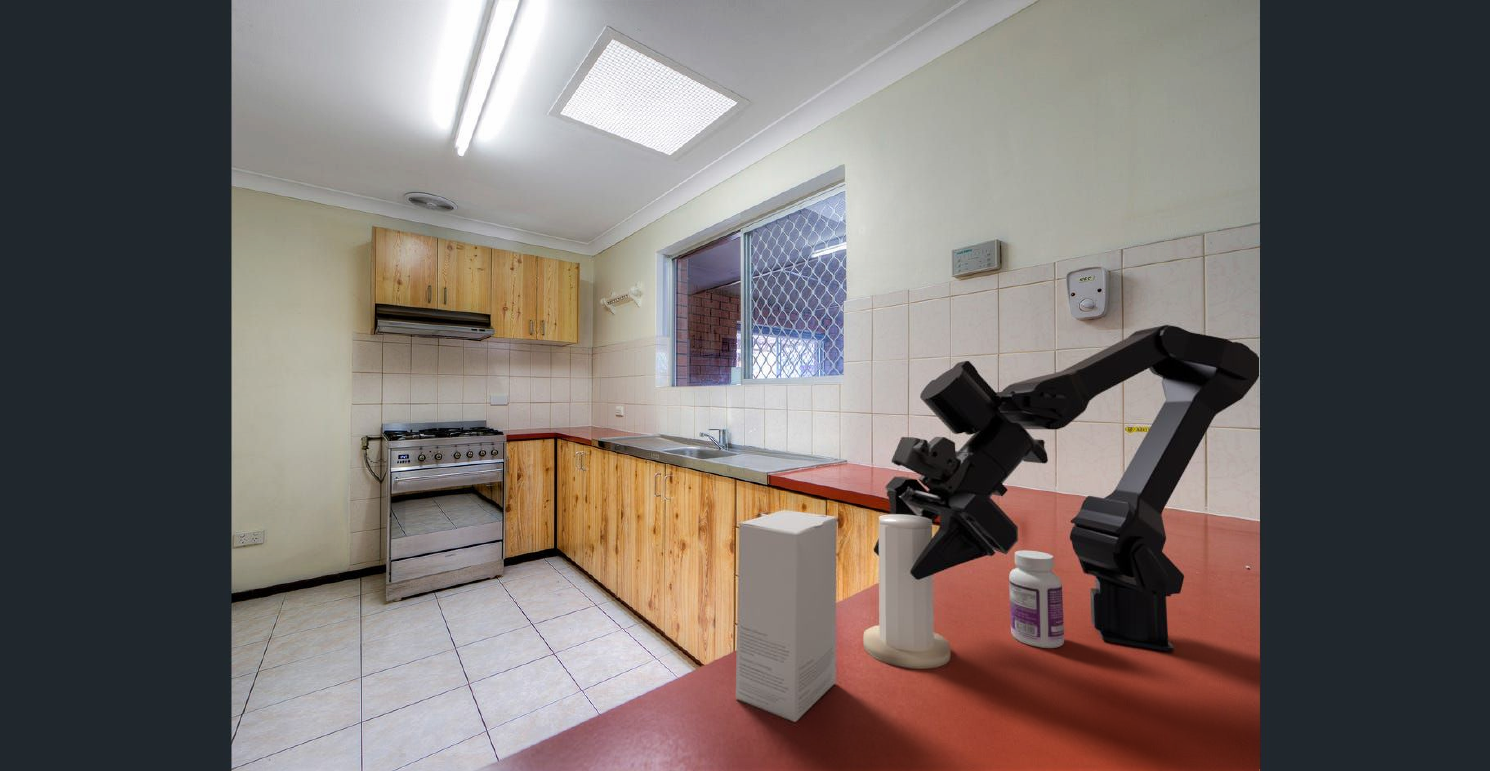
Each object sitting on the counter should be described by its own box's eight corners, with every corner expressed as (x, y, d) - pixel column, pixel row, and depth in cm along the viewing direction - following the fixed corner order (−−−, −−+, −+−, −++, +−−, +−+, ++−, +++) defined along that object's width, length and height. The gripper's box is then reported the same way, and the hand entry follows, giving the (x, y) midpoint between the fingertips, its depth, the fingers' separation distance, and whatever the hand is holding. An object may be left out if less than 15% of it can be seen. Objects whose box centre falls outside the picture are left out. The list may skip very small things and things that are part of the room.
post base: (953, 642, 58) (952, 605, 58) (946, 676, 50) (945, 633, 50) (873, 627, 62) (873, 593, 62) (854, 656, 54) (854, 617, 54)
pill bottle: (1050, 631, 61) (1047, 549, 62) (1073, 650, 56) (1070, 560, 57) (1002, 629, 62) (1000, 547, 63) (1022, 648, 57) (1019, 558, 57)
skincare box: (781, 665, 52) (782, 508, 53) (841, 685, 48) (841, 515, 49) (731, 700, 45) (734, 520, 46) (797, 727, 41) (798, 529, 42)
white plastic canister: (943, 641, 56) (941, 519, 57) (916, 655, 52) (915, 525, 53) (897, 625, 60) (896, 512, 61) (869, 638, 56) (869, 517, 57)
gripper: (899, 414, 68) (818, 499, 65) (987, 410, 49) (878, 529, 47) (955, 474, 68) (877, 561, 66) (1063, 493, 50) (960, 614, 47)
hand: (893, 564), depth 56 cm, fingers open, 9 cm apart
